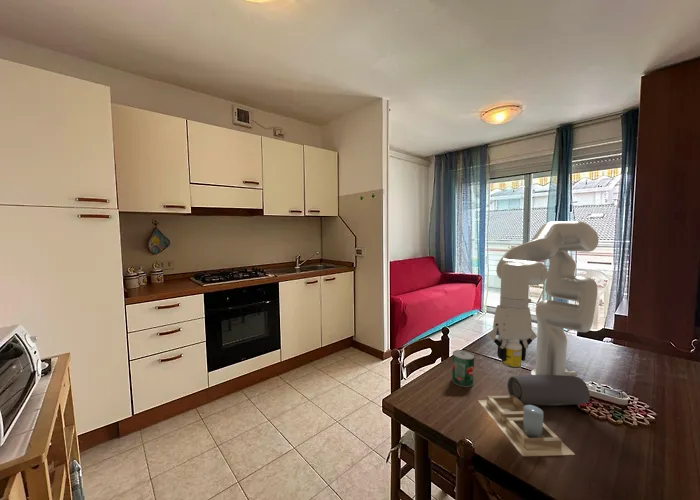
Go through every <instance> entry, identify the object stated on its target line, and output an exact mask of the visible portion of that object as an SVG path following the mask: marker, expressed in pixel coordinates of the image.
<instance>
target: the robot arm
mask: <svg viewBox="0 0 700 500" xmlns="http://www.w3.org/2000/svg"><path fill="white" fill-rule="evenodd" d="M598 246H599V236H598V233H597V231H596V229H594V228H593V227H592V226H591V225H590V224H588V223H586V222H584V221H580V220H565V221H562V220H561V221H560V220H559V221H558V220H557V221H556V220H555V221H549V222H545V223H544V224H543V225H542V226H541V227H540V228H539V229H538V231H537V232H536V233H535V234H534V236H533V237H532V239H531V240H529V241H528V242H527V241H526V242H524V243H522V244H519V245H517V246H514V247H512V248H510V249H509V250H507V251H506V252H505V253H504V254H503V256H502V257H501V258H500V259H499V262H498V263H497V266H496V270H495V271H496V276H497V277H498V278H499V279H500V293H499V294H500V298H499V305H497V306H496V309H495V313H494V316H493V325H492V330H491V331H490V332H489V333H488V335H487V337H488V339H490V340H491V341H492V342H493V343H495V345H496V346H497V357H498V359H500V360H501V362H502V361H506V349H505V348H504V347H505V345H506V342H507V340H512V339H519V340H520V342H519V343H520V344H521V345H522V359H521V362H522V361H523V362H524V361H526V357H527V349H528V348H529V346H530V344H532V342H533V341H534V340H535V339H536V354H535V355H536V357H535V369H532V370H531V371H530V375H564V376H575V377H578V373H577V372H576V371H575V370H572V371H571V370H570V371H569V369H568V368H566V366H567V365H566V364H567V346H568V339H567V334H566V333H565V332H564V330H563V329H566V330H569V331H570V330H571V331H574V332H579V333H587V332H589V331H591V329H592V327H593V324H594V319H595V318H594V317H595V312H596V305H597V299H598V290H599V289H598V285H597V282H596V281H595V280H594V279H593V278H591V277H588V276H580V275H575V273H576V266H577V264H576V263H577V262H576V261H575V260H574V258H573V257H572V256H571V255H570V254H569V253H568V252H583V253H584V252H585V253H588V252H593V251H595V250H596V248H597V247H598ZM547 260H548V262H549V264H548V268H547V267H546V265H545V264H543V263H542V261H547ZM544 282H545V285H544V286H545V287H544V291H545V293H546V295H548V296H549V297H552V298H555V299H561V300H566V301H573V302H577V304H574V303H569V302H565V301H558V300H552V299H551V300H550V299H545V300H544V299H543V300H540V301H539V302H538V303H537V304H536V306H535V316H536V323H537V325H536V326H537V334H536V332H534V330H533V328H532V314H531V313H532V312H531V310H530V307H529V304H532V299H531V298H529V289H530V288H529V287H530V286H538V285H541V284H543V283H544ZM496 336H498V337H497V338H496Z"/></svg>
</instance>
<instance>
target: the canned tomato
mask: <svg viewBox="0 0 700 500" xmlns="http://www.w3.org/2000/svg"><path fill="white" fill-rule="evenodd" d="M451 371H452V372H451V382H453V384H455V385H457V386H458V387H462V388H469V387H473V386H474V378H475V377H474V373H475V355H474V353H473V352H470V351H467V350H464V349H463V350H462V349H457V350H453V352H452V368H451Z"/></svg>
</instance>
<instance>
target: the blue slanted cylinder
mask: <svg viewBox="0 0 700 500" xmlns="http://www.w3.org/2000/svg"><path fill="white" fill-rule="evenodd" d="M524 405H525V406H524V415H523V432H524V433H525V435H526V436H527V437H528V438H542V431H543V423H544V410H543V409H542V408H539V406H537V405H529V404H524Z"/></svg>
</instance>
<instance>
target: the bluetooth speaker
mask: <svg viewBox="0 0 700 500" xmlns="http://www.w3.org/2000/svg"><path fill="white" fill-rule="evenodd" d="M587 385H588V384H587V383H586V382H585V381H584V379H582V378H581V377H578V376H564V375H531V374H526V375H522V374H521V375H512V376H510V377H509V378H508V380H507V391H508V395H509V396H512V395H515V396H516V397H517V398H518V399H519V400H520V401H521V402H522V403H523V404H524V405H533V406H549V407H550V406H552V407H553V406H569V405H570V406H571V405H573V406H574V405H581V404H586V403H588V402H589V401H590V397H591V396H590V395H591V394H590V390H589V388H588V386H587Z"/></svg>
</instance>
